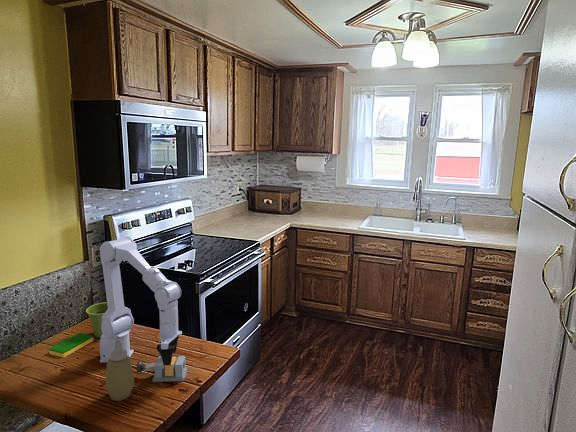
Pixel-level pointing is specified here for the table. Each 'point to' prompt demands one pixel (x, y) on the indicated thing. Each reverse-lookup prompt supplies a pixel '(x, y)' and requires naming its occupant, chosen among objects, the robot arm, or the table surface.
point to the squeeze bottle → (119, 374)
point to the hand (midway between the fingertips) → (169, 358)
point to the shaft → (147, 366)
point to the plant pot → (97, 317)
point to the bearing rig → (178, 372)
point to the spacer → (170, 368)
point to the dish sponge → (70, 345)
